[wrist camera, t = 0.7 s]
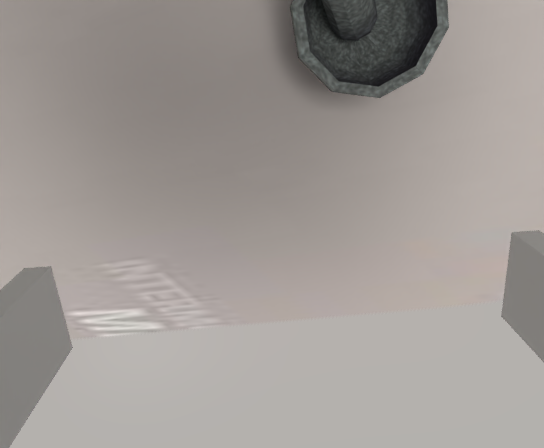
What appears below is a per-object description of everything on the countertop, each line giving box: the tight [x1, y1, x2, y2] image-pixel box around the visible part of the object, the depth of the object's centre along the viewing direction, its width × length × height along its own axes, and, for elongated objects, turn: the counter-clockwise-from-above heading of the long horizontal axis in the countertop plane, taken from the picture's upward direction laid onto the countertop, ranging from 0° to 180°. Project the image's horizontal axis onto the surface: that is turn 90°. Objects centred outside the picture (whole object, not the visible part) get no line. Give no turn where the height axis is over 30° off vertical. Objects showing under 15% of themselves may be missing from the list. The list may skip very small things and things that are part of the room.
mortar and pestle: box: [290, 0, 449, 98], centre depth 29 cm, size 11×9×12 cm
